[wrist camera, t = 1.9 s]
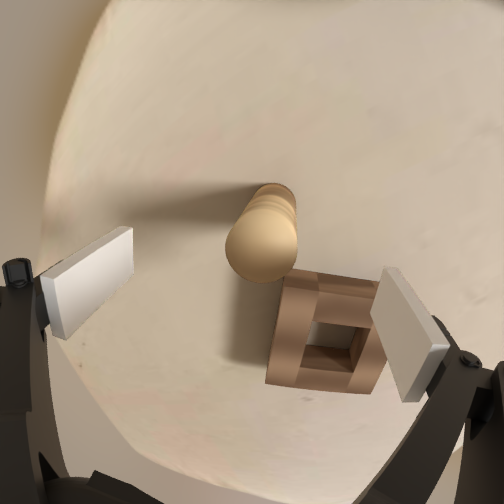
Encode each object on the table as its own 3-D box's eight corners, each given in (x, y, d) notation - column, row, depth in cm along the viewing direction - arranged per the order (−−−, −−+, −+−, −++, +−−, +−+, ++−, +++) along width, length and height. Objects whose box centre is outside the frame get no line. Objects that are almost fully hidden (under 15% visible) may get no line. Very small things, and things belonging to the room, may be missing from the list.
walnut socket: (285, 267, 30) (284, 286, 27) (398, 284, 30) (410, 303, 26) (268, 360, 35) (264, 383, 31) (365, 371, 34) (370, 394, 30)
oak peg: (255, 180, 28) (228, 210, 17) (298, 186, 27) (303, 221, 16) (249, 222, 29) (222, 276, 18) (292, 228, 29) (290, 288, 18)
